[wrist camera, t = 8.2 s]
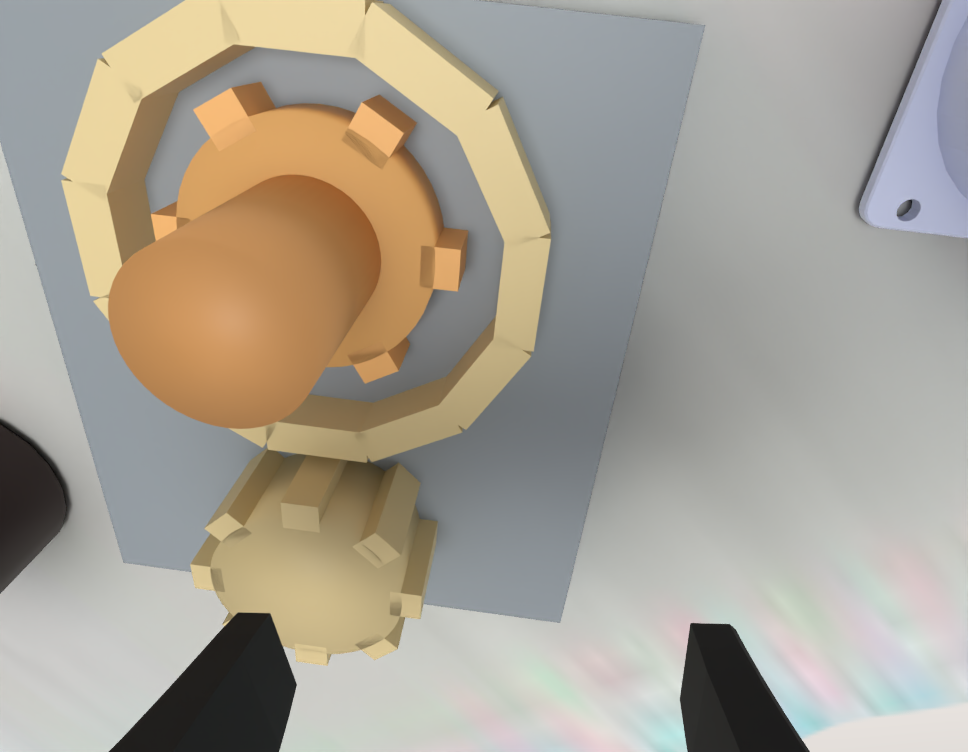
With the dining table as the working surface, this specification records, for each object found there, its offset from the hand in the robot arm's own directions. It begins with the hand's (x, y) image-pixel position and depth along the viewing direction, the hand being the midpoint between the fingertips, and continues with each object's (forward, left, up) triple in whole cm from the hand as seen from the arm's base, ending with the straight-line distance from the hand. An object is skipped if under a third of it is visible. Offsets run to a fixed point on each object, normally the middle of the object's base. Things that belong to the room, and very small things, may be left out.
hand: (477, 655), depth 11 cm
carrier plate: (+5, -1, -9) cm, 11 cm away
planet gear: (+5, -5, -8) cm, 10 cm away
